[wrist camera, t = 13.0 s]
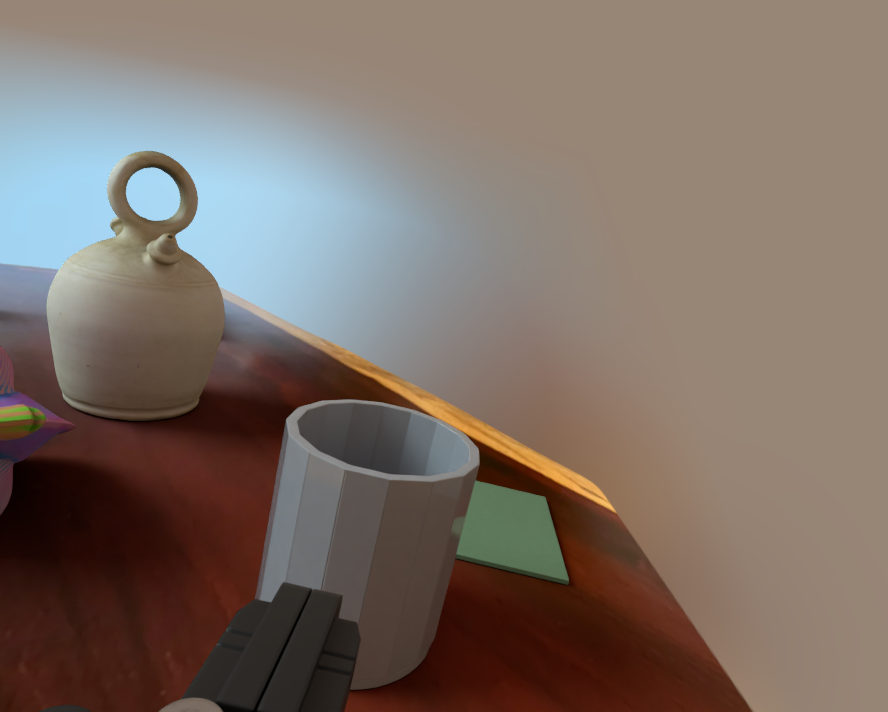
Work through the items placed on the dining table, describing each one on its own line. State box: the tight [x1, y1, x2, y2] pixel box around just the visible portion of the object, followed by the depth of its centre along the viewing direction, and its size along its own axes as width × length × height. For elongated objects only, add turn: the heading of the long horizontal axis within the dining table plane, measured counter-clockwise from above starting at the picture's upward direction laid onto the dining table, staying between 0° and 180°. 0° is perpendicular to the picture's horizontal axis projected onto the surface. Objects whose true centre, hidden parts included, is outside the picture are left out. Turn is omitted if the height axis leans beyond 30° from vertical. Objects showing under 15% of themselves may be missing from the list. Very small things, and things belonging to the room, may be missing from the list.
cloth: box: [455, 481, 569, 585], centre depth 48 cm, size 22×14×1 cm, turn 87°
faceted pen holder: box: [255, 400, 480, 690], centre depth 32 cm, size 11×11×12 cm
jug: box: [47, 151, 225, 421], centre depth 54 cm, size 15×16×25 cm
